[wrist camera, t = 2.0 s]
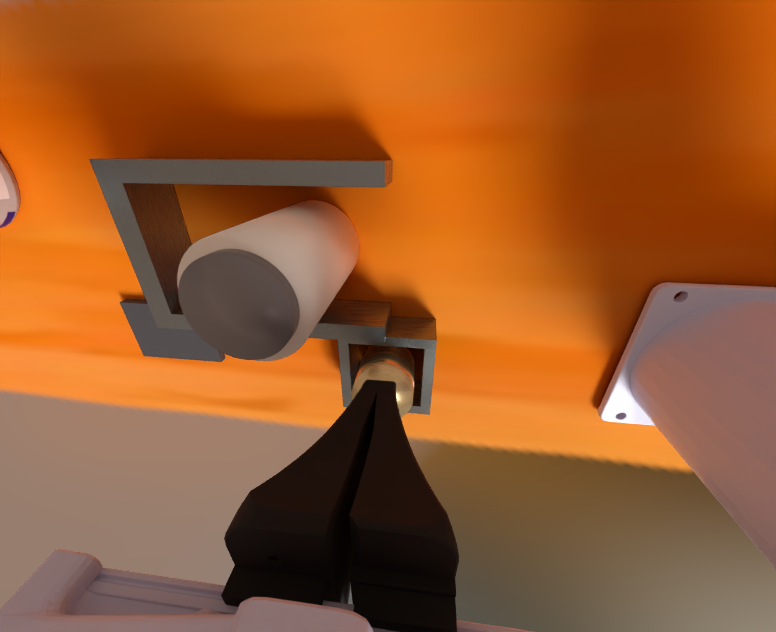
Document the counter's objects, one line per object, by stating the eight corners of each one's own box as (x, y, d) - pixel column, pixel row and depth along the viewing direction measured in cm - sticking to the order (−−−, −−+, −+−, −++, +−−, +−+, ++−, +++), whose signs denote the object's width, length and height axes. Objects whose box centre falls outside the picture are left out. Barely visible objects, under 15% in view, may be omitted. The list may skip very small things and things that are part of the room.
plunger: (416, 343, 15) (414, 375, 13) (413, 387, 16) (411, 422, 14) (360, 339, 15) (349, 370, 13) (362, 383, 17) (353, 417, 15)
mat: (209, 304, 17) (204, 307, 16) (225, 357, 18) (221, 362, 18) (125, 299, 17) (119, 302, 17) (149, 352, 19) (144, 355, 19)
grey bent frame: (449, 160, 12) (454, 162, 10) (429, 388, 18) (429, 422, 16) (144, 158, 13) (89, 159, 11) (214, 371, 19) (186, 399, 17)
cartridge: (357, 201, 13) (296, 240, 7) (361, 286, 15) (314, 376, 9) (270, 199, 14) (141, 234, 8) (283, 282, 16) (189, 365, 9)
